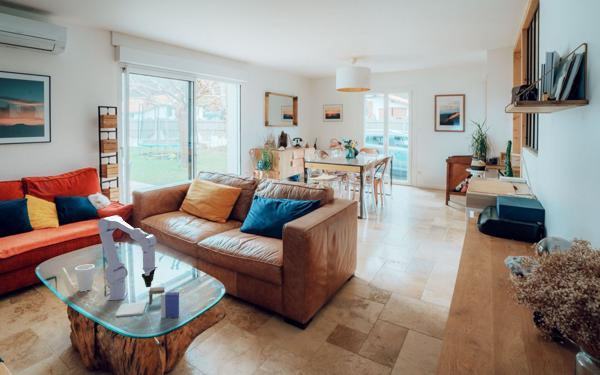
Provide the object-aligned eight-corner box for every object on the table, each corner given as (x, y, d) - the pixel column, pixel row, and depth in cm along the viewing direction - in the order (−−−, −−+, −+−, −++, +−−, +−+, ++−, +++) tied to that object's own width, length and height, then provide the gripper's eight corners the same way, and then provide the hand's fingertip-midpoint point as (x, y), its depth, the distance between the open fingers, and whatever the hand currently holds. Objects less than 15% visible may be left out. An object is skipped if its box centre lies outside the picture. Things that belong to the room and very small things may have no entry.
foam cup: (84, 285, 199) (83, 263, 198) (99, 286, 198) (98, 264, 197) (71, 292, 190) (70, 269, 188) (86, 293, 189) (86, 270, 187)
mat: (121, 305, 177) (121, 304, 177) (146, 303, 180) (146, 301, 180) (115, 316, 165) (115, 315, 165) (142, 314, 169) (142, 312, 169)
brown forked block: (150, 300, 184) (150, 287, 183) (164, 299, 186) (164, 286, 185) (149, 304, 179) (149, 291, 179) (163, 302, 181) (163, 290, 180)
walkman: (179, 314, 169) (179, 291, 168) (177, 317, 167) (177, 294, 165) (162, 315, 169) (162, 291, 167) (161, 317, 166) (160, 294, 164)
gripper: (155, 262, 172) (156, 288, 173) (158, 253, 186) (159, 278, 187) (140, 263, 170) (140, 290, 171) (144, 254, 184) (145, 279, 185)
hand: (149, 283), depth 179 cm, fingers open, 7 cm apart
